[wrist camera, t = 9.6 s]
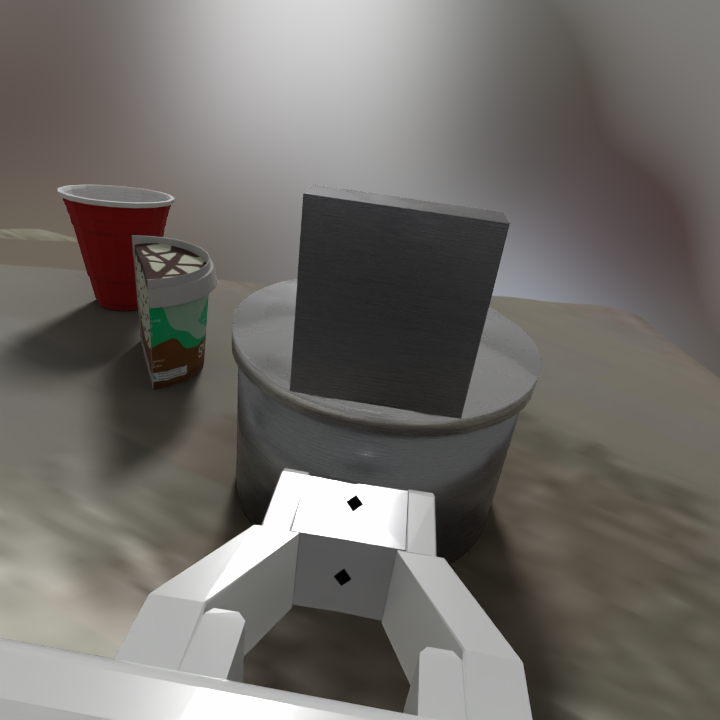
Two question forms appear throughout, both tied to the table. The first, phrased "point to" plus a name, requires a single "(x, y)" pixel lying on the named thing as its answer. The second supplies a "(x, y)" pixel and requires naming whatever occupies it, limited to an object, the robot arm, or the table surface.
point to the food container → (172, 306)
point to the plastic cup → (114, 235)
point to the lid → (389, 320)
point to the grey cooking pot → (370, 463)
